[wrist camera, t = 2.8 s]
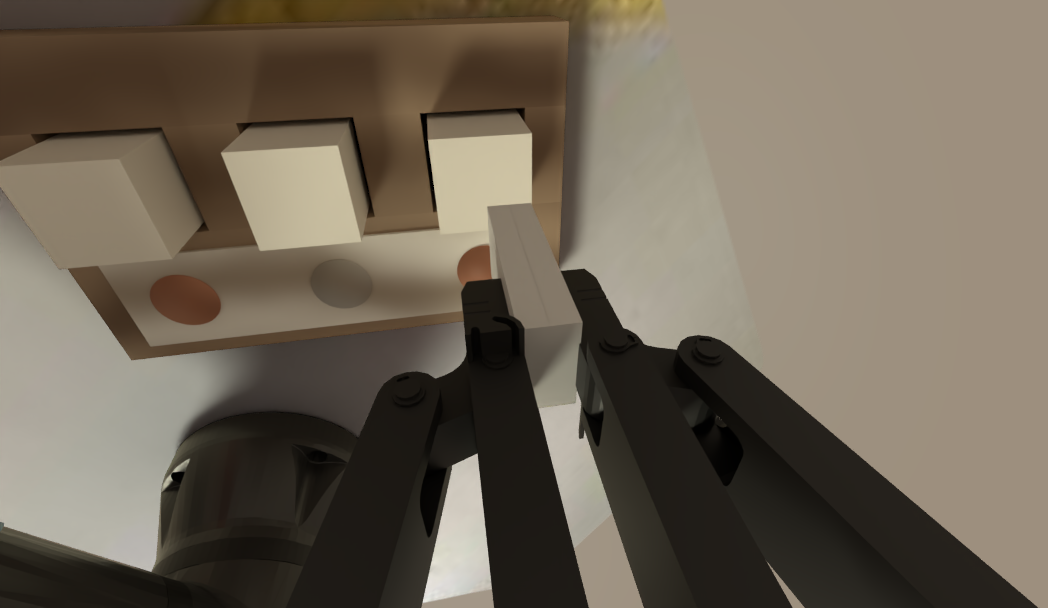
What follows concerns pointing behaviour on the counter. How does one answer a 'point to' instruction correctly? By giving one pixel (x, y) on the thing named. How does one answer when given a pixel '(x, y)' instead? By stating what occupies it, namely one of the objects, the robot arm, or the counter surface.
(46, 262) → the counter surface
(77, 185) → the button
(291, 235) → the button middle
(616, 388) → the robot arm
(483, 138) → the button
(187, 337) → the button board
